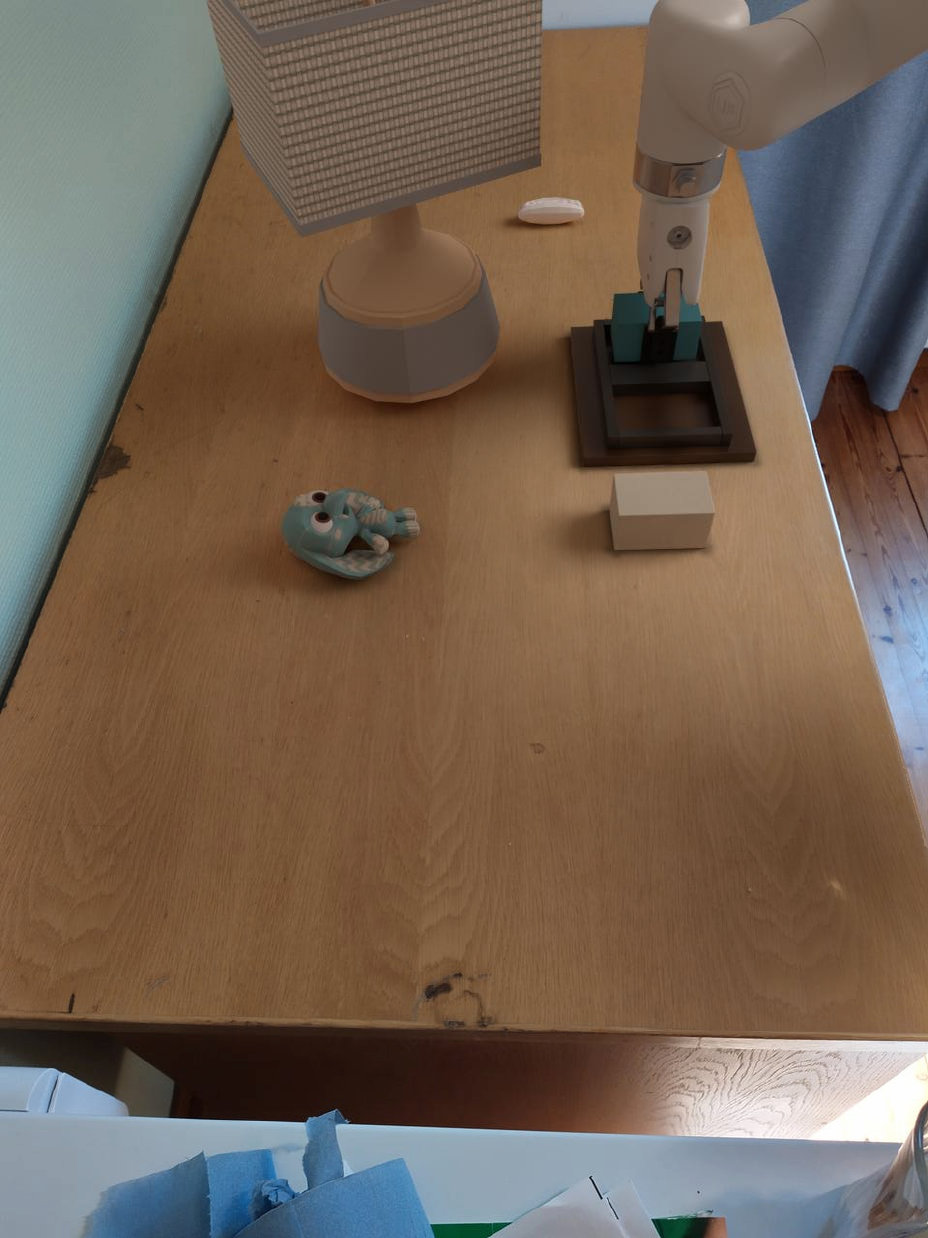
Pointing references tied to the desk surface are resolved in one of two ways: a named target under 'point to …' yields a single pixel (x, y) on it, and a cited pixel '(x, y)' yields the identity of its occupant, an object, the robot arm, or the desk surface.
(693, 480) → the cream pad
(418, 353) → the desk lamp
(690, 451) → the back plate
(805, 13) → the robot arm
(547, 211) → the white soap bar
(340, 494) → the stuffed animal
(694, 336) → the teal pad
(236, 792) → the desk surface
